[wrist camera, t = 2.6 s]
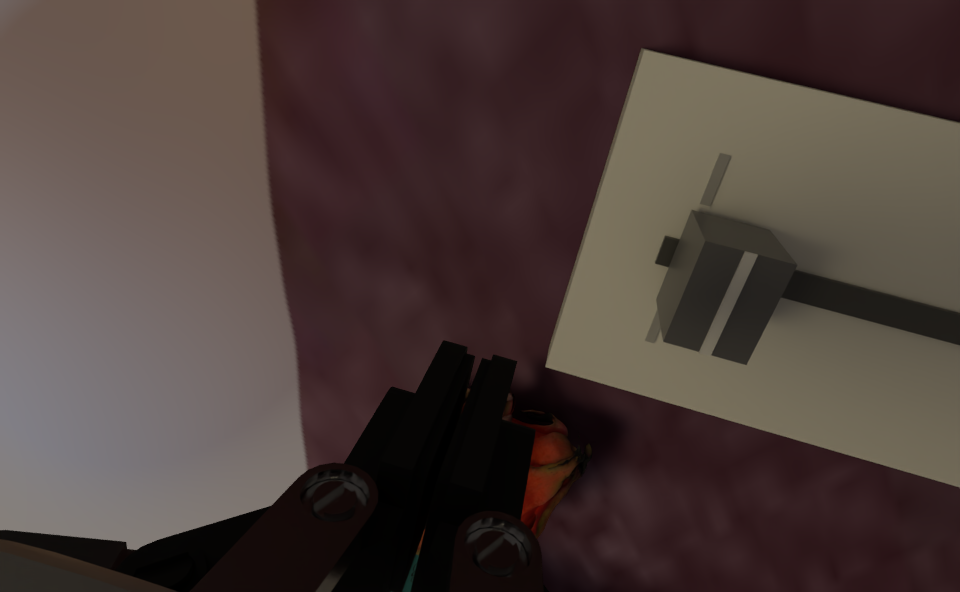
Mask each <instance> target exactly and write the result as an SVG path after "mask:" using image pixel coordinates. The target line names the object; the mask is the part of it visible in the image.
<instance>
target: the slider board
mask: <svg viewBox="0 0 960 592" xmlns="http://www.w3.org/2000/svg"><path fill="white" fill-rule="evenodd" d="M691 210H695V211H699V212H703V213H707V214H710V215H714V216H718V217H722V218H726V219H730V220H734V221H738V222H741V223H745V224H749V225H753V226H757V227H761V228H765V229H769V230H770V231H771V232H772V233H773V234H774V236H775V237H776V238H777V239H778V241H779V242H780V243H781V245H782V246H783V247H784V248H785V250H786V251H787V252H788V253H789V255H790V256H791V257H792V259H793V260H794V261H795V262H796V264H797V267H796V269H795V271H794V273H793V275H792V277H791V279H790V281H789V283H788V285H787V287H786V289H785V291H784V293H783V294H782V296H781V298H780V300H779V302H778V304H777V306H776V308H775V310H774V312H773V314H772V316H771V318H770V320H769V322H768V324H767V326H766V328H765V330H764V332H763V334H762V336H761V338H760V340H759V342H758V344H757V346H756V347H755V349H754V351H753V353H752V355H751V357H750V359H749V361H748V363H747V365H744V364H740V363H736V362H733V361H729V360H726V359H722V358H719V357H715V356H712V355H711V356H707V355H703V354H700V353H699V352H697V351H694V350H690V349H687V348H683V347H679V346H676V345H672V344H669V343H665V342H663V338H662V332H661V326H660V321H659V315H658V309H657V303H656V298H657V296H658V293H659V291H660V288H661V286H662V283H663V281H664V278H665V276H666V273H667V270H668V268H669V265H670V263H671V260H672V258H673V255H674V253H675V250H676V248H677V245H678V243H679V240H680V238H681V235H682V232H683V230H684V227H685V225H686V222H687V220H688V217H689V215H690V212H691ZM545 367H547V368H551V369H554V370H558V371H561V372H564V373H568V374H571V375H575V376H578V377H582V378H585V379H589V380H592V381H595V382H599V383H602V384H606V385H609V386H613V387H616V388H620V389H623V390H626V391H630V392H633V393H637V394H640V395H644V396H647V397H651V398H654V399H657V400H661V401H664V402H668V403H671V404H675V405H678V406H682V407H685V408H688V409H692V410H695V411H699V412H702V413H706V414H709V415H713V416H716V417H719V418H723V419H726V420H730V421H733V422H737V423H740V424H744V425H747V426H750V427H754V428H757V429H761V430H764V431H768V432H771V433H775V434H778V435H781V436H785V437H788V438H792V439H795V440H799V441H802V442H806V443H809V444H812V445H816V446H819V447H823V448H826V449H830V450H833V451H837V452H840V453H843V454H847V455H850V456H854V457H857V458H861V459H864V460H868V461H871V462H874V463H878V464H881V465H885V466H888V467H892V468H895V469H899V470H902V471H905V472H909V473H912V474H916V475H919V476H923V477H926V478H930V479H933V480H936V481H940V482H943V483H947V484H950V485H954V486H957V487H960V122H956V121H952V120H948V119H943V118H939V117H935V116H931V115H926V114H922V113H918V112H913V111H909V110H905V109H901V108H896V107H892V106H888V105H883V104H879V103H875V102H871V101H866V100H862V99H858V98H854V97H849V96H845V95H841V94H836V93H832V92H828V91H824V90H819V89H815V88H811V87H806V86H802V85H798V84H794V83H789V82H785V81H781V80H776V79H772V78H768V77H764V76H759V75H755V74H751V73H747V72H742V71H738V70H734V69H729V68H725V67H721V66H717V65H712V64H708V63H704V62H699V61H695V60H691V59H687V58H682V57H678V56H674V55H670V54H665V53H661V52H657V51H652V50H648V49H644V48H641V52H640V55H639V58H638V61H637V64H636V68H635V71H634V74H633V77H632V81H631V84H630V87H629V90H628V94H627V97H626V100H625V103H624V106H623V110H622V113H621V116H620V119H619V123H618V126H617V129H616V132H615V136H614V139H613V142H612V145H611V148H610V152H609V155H608V158H607V161H606V165H605V168H604V171H603V174H602V178H601V181H600V184H599V187H598V190H597V194H596V197H595V200H594V203H593V207H592V210H591V213H590V216H589V220H588V223H587V226H586V229H585V232H584V236H583V239H582V242H581V245H580V249H579V252H578V255H577V258H576V262H575V265H574V268H573V271H572V274H571V278H570V281H569V284H568V287H567V291H566V294H565V297H564V300H563V304H562V307H561V310H560V313H559V316H558V320H557V323H556V326H555V329H554V333H553V336H552V339H551V342H550V346H549V351H548V356H547V361H546V366H545Z"/></svg>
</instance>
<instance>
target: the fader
mask: <svg viewBox="0 0 960 592" xmlns="http://www.w3.org/2000/svg"><path fill="white" fill-rule="evenodd" d="M796 267H797V264H796V262H795V261H794V260H793V259H792V257H791V256H790V255H789V253H788V252H787V251H786V250H785V248H784V247H783V246H782V245H781V243H780V242H779V241H778V239H777V238H776V237H775V236H774V234H773V233H772V232H771V231H770V230H769V229H765V228H761V227H757V226H753V225H749V224H745V223H741V222H738V221H734V220H730V219H726V218H722V217H718V216H714V215H710V214H707V213H703V212H699V211H695V210H691V212H690V215H689V217H688V220H687V222H686V225H685V227H684V230H683V232H682V235H681V238H680V240H679V243H678V245H677V248H676V250H675V253H674V255H673V258H672V260H671V263H670V265H669V268H668V270H667V273H666V276H665V278H664V281H663V283H662V286H661V288H660V291H659V293H658V296H657V298H656V303H657V309H658V315H659V321H660V326H661V332H662V338H663V342H665V343H669V344H672V345H676V346H679V347H683V348H687V349H690V350H694V351H697V352H699V353H700V354H703V355H707V356H711V355H712V356H715V357H719V358H722V359H726V360H729V361H733V362H736V363H740V364H744V365H747V363H748V361H749V359H750V357H751V355H752V353H753V351H754V349H755V347H756V346H757V344H758V342H759V340H760V338H761V336H762V334H763V332H764V330H765V328H766V326H767V324H768V322H769V320H770V318H771V316H772V314H773V312H774V310H775V308H776V306H777V304H778V302H779V300H780V298H781V296H782V294H783V293H784V291H785V289H786V287H787V285H788V283H789V281H790V279H791V277H792V275H793V273H794V271H795V269H796Z"/></svg>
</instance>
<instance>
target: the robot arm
mask: <svg viewBox="0 0 960 592" xmlns="http://www.w3.org/2000/svg"><path fill="white" fill-rule="evenodd" d="M474 359H475V356H473V355H470V354H467V347H466V346H462V345H459V344H455V343H452V342H448V341H445V340H444V341H443V342H442V344H441V346H440V347H439V349H438V351H437V353H436V355H435V357H434V359H433V361H432V363H431V365H430V366H429V368H428V370H427V372H426V374H425V376H424V378H423V380H422V382H421V383H420V385H419V387H418V389H417V391H416V393H412V392H409V391H405V390H402V389H398V388H395V387H391V388H390V389H389V391H388V392H387V394H386V395H385V397H384V398H383V400H382V402H381V403H380V405H379V407H378V408H377V410H376V412H375V413H374V415H373V417H372V418H371V420H370V422H369V423H368V425H367V426H366V428H365V430H364V431H363V433H362V435H361V436H360V438H359V440H358V441H357V443H356V445H355V446H354V448H353V449H352V451H351V453H350V454H349V456H348V458H347V459H346V461H345V463H344V464H342V463H329V464H323V465H319V466H316V467H314V468H312V469H309V470H308V471H306V472H305V473H304V474H302V475H301V476H300V477H299V478H298V479H297V480H296V481H295V482H294V483H293V484H292V485H291V486H290V487H289V488H288V489H287V490H286V491H285V492H284V493H283V494H282V495H281V496H280V498H278V500H277V501H276V502H275V503H274V504H273V505H272V506H269V507H266V508H263V509H259V510H256V511H253V512H249V513H246V514H243V515H239V516H236V517H233V518H229V519H226V520H223V521H219V522H216V523H213V524H209V525H206V526H203V527H199V528H196V529H193V530H189V531H186V532H183V533H179V534H176V535H173V536H169V537H166V538H163V539H160V540H157V541H154V542H152V543H150V544H147V545H145V546H142V547H140V548H139V549H138V550H130V549H127V546H126V542H122V541H111V540H101V539H90V538H80V537H70V536H60V535H51V534H41V533H30V532H20V531H10V530H0V592H391V591H392V592H402V590H403V588H404V585H405V582H406V579H407V577H408V574H409V571H410V568H411V566H412V563H413V560H414V557H415V555H416V552H417V549H418V546H419V544H420V541H421V538H422V535H423V532H424V536H423V540H422V544H421V549H420V553H419V557H418V562H417V566H416V570H415V574H414V579H413V583H412V587H411V592H549V591H548V590H547V589H546V587H545V586H544V585H543V573H542V555H541V550H540V546H539V542H538V540H537V539H536V537H535V535H534V533H533V532H532V531H531V530H530V529H529V528H528V527H527V526H526V525H525V524H524V523H523V522H522V521H521V515H522V509H523V504H524V498H525V492H526V486H527V480H528V474H529V469H530V463H531V457H532V451H533V445H534V439H535V433H536V429H533V428H530V427H526V426H523V425H520V424H516V423H513V422H510V421H506V420H503V419H502V417H503V413H504V409H505V405H506V402H507V398H508V394H509V390H510V387H511V383H512V379H513V375H514V371H515V368H516V364H517V361H514V360H511V359H507V358H504V357H500V356H497V355H493V357H492V360H487V359H484V358H482V360H481V363H480V365H479V368H478V371H477V373H476V376H475V379H474V381H473V384H472V386H471V389H470V392H469V394H468V397H467V400H466V402H465V405H464V401H465V396H466V392H467V388H468V384H469V380H470V376H471V372H472V367H473V363H474ZM463 405H464V408H463ZM462 409H463V410H462ZM424 530H425V531H424Z"/></svg>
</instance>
